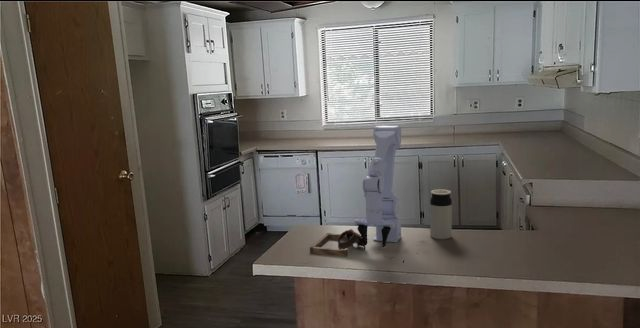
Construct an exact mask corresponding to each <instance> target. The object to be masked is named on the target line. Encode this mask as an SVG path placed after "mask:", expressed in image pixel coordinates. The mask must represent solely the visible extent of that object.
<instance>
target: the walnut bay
mask: <svg viewBox="0 0 640 328" xmlns="http://www.w3.org/2000/svg"><path fill="white" fill-rule="evenodd" d="M340 234H341V233H331V232H327V233H326V234H324V235H323V236H322V237H321V238H319V239H318V240H317V241H315V242H314V243H313V244H312V245H311V246H310V247H309V253H311V254H319V255H327V256H337V257H348V256H349V255H348V253H349V252H348V249H339V248H330V247H322V246H323V245H324V244H326V243H327V242H328V241H329V240H336V241H338V237H339V235H340ZM340 241H344V242H345V241H348V238H347V237H346V235H345V236H344V237H343V238H342V239H341V240H340Z"/></svg>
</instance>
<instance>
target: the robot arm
mask: <svg viewBox="0 0 640 328" xmlns="http://www.w3.org/2000/svg"><path fill="white" fill-rule="evenodd" d="M372 133H373V140H374V142H375V145H376V146H375V152H374V153H375V154H374V158H373V159H371V160H370V163H369V167H368V170H367V174H366V177H364V178H363V181H362V190H363V196H364V198H365V218H356V219H354V220H353V221H354V222H353V223H354V224H353V225H354V227H355V226H357V231H358V232H359V233H358V234H359V235H360V236H361V237H362V240H363V243H364V245H365V247H366V246H367V245H368V228H369V227H375V235H374V237H373V239H372V241H376V242H378V241H379V242H382V245H381V246H382V248H385V247H386V245H387V243H388V242H389V243H398V242H399V240H400V239H401V238H402V219H401V218H400V217H399V216H398V217H397V215H399V210H400V206H399V205H400V204H399V202H400V201H399V200H400V199H399V197H398V195H396V193H394V192H393V183H394V182H393V181H394V172H395V171H394V170H395V159H396V158H395V157H396V153H397V152H396V151H397V150H398V149H400V148H401V143H402V128H401V127H400V125H375V127H374V128H373V131H372Z"/></svg>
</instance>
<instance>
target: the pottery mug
mask: <svg viewBox="0 0 640 328" xmlns="http://www.w3.org/2000/svg"><path fill="white" fill-rule="evenodd" d="M339 234H340V235H339V237H338V240H336V241H337V243H338V244H337V247H338V248H337V249H341V250H346V249H349V248H354V244H355V243H356V245H357V247H362V248H363V250H364V251H366V246H365V245H364V243H363V240H362V237H361V235H360V233H358V232H356V231H354V230H353V229H352V228H350V229H348V230H345V231H343V232H341V233H339ZM345 235H346V237H347V238H348V241H345V240H344V241H342V240H341V239H342V238H343V237H344V236H345Z"/></svg>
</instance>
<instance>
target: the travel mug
mask: <svg viewBox="0 0 640 328" xmlns="http://www.w3.org/2000/svg"><path fill="white" fill-rule="evenodd" d="M451 193H452V191H451V190H448V189H444V188H443V189H442V188H441V189H440V188H439V189H433V190H431V191H430V194H431V197H430V200H429V201H430V202H429V205H430V206H429V207H430V208H429V210H430V211H429V212H430V213H429V214H430V215H429V216H430V217H429V218H430V219H429V220H430V223H429V225H430V228H429V229H430V231H429V232H430V234H429V235H430V237H432V238H433V239H436V240H448V239H450V238H452V236H453V235H452V230H453V229H452V228H453V227H452V221H453V219H452V218H453V217H452V214H453V213H452V212H453V211H452V208H453V207H452V200H453V199H452V198H451Z"/></svg>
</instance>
